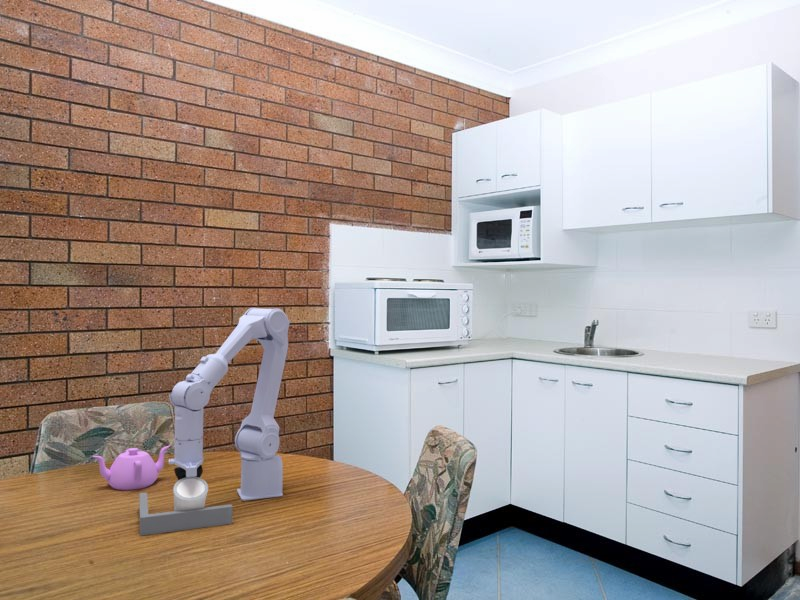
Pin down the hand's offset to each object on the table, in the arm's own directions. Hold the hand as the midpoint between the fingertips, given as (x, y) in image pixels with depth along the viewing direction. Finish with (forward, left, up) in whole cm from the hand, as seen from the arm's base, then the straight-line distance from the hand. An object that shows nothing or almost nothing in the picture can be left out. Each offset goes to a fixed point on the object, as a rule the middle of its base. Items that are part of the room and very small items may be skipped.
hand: (188, 501), depth 130 cm
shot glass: (0, +2, -2) cm, 3 cm away
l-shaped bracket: (0, +1, -3) cm, 3 cm away
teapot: (+11, -27, -3) cm, 30 cm away
